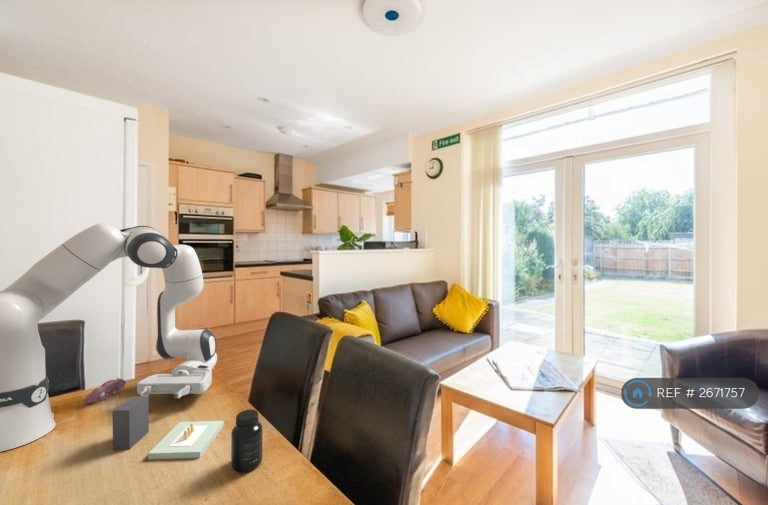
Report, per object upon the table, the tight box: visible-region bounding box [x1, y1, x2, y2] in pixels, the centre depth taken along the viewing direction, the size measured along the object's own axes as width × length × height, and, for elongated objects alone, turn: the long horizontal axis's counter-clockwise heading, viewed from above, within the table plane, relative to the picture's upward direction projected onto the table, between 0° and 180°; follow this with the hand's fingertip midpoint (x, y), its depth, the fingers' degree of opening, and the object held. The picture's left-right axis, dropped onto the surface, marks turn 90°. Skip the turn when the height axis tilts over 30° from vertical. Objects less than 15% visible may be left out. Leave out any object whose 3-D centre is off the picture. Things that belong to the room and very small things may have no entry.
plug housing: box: [111, 395, 150, 451], centre depth 82 cm, size 4×7×10 cm, turn 4°
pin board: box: [147, 420, 225, 460], centre depth 82 cm, size 12×13×4 cm
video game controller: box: [84, 377, 127, 405], centre depth 103 cm, size 10×5×7 cm, turn 169°
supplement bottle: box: [230, 408, 263, 474], centre depth 74 cm, size 7×7×12 cm
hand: (159, 396), depth 93 cm, fingers open, 8 cm apart
